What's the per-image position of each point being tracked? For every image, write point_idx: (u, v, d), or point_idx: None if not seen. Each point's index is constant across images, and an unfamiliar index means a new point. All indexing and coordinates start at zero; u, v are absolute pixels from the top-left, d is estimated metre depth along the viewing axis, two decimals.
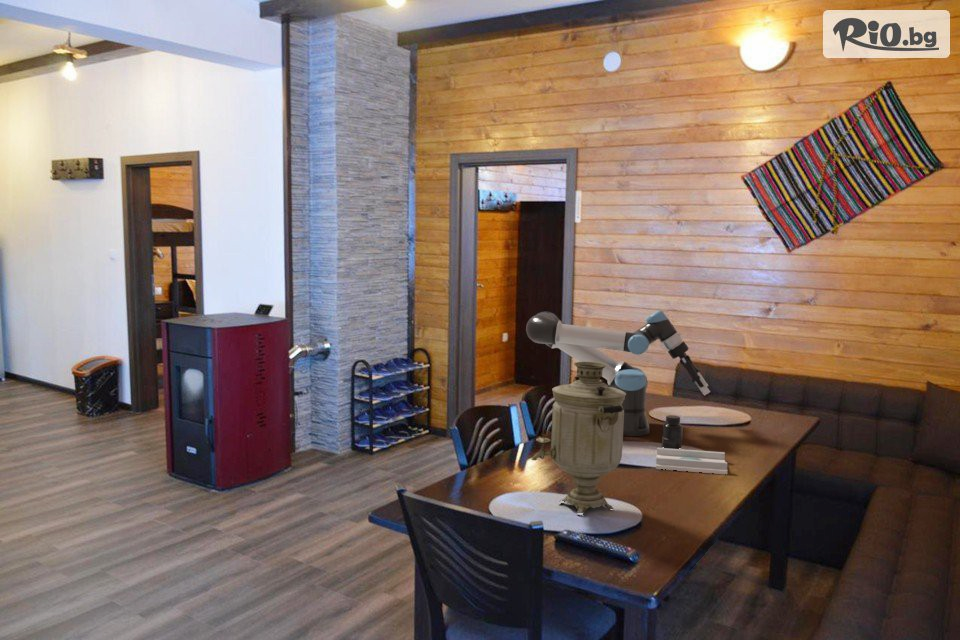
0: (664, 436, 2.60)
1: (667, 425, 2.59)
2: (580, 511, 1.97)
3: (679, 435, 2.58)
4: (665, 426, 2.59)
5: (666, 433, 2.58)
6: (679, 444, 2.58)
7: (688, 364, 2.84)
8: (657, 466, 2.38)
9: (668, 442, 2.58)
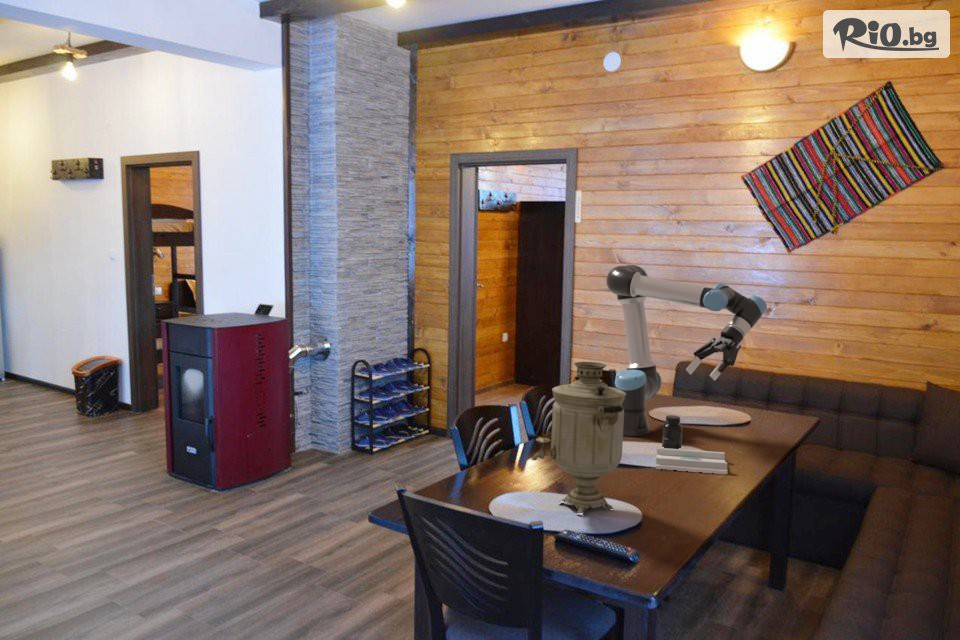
0: (664, 436, 2.60)
1: (667, 425, 2.59)
2: (580, 511, 1.97)
3: (679, 435, 2.58)
4: (665, 426, 2.59)
5: (666, 433, 2.58)
6: (679, 444, 2.58)
7: (736, 351, 2.61)
8: (657, 466, 2.38)
9: (668, 442, 2.58)
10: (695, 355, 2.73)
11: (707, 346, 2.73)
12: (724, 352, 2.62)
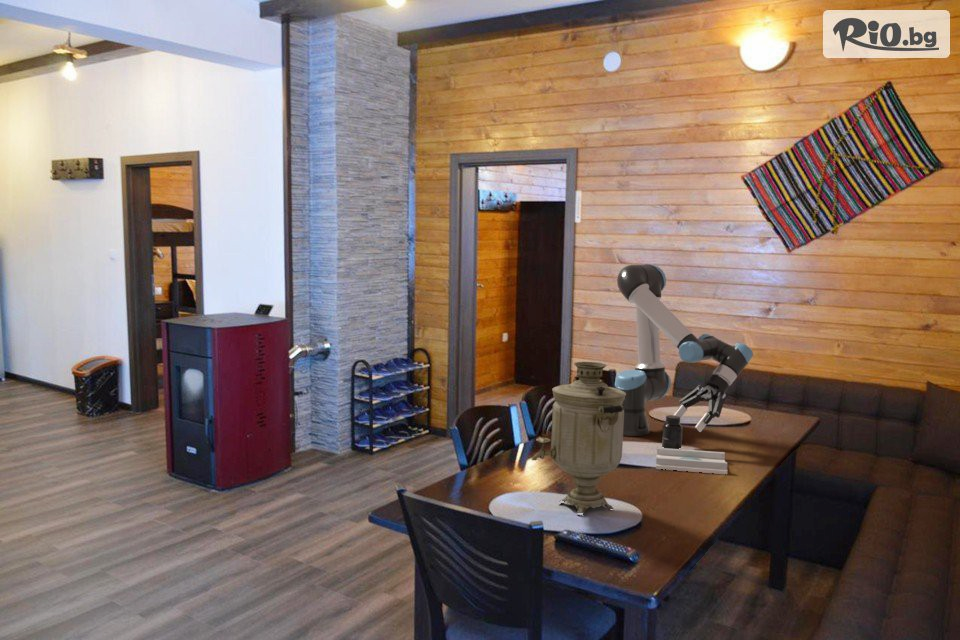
0: (664, 436, 2.60)
1: (667, 425, 2.59)
2: (580, 511, 1.97)
3: (679, 435, 2.58)
4: (665, 426, 2.59)
5: (666, 433, 2.58)
6: (679, 444, 2.58)
7: (722, 401, 2.56)
8: (657, 466, 2.38)
9: (668, 442, 2.58)
10: (680, 403, 2.69)
11: (693, 394, 2.69)
12: (710, 402, 2.58)
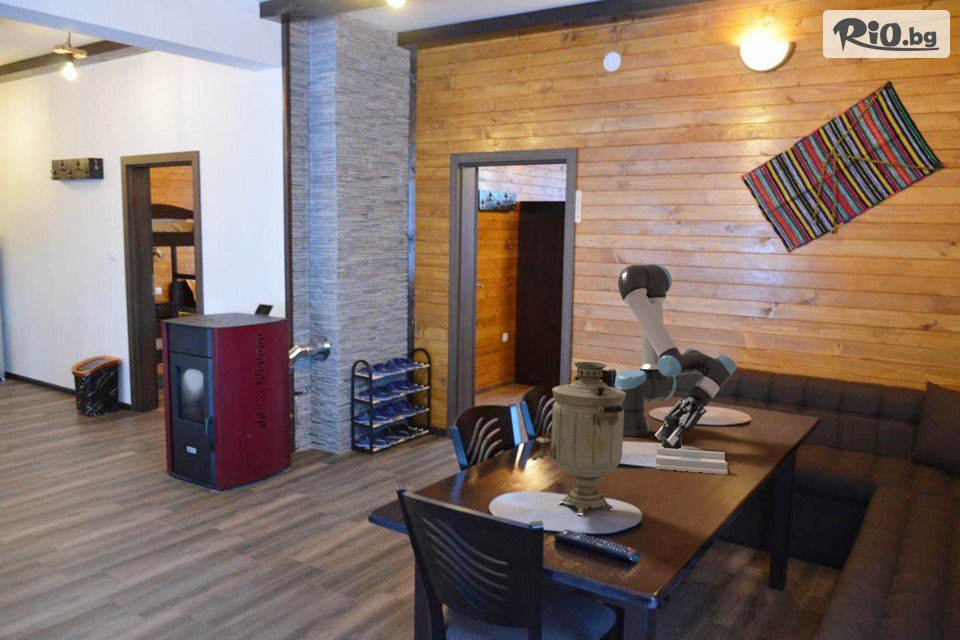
0: (664, 436, 2.60)
1: (667, 425, 2.59)
2: (580, 511, 1.97)
3: None
4: (665, 426, 2.59)
5: (666, 433, 2.58)
6: (679, 444, 2.58)
7: (699, 416, 2.56)
8: (657, 466, 2.38)
9: None
10: (665, 420, 2.65)
11: (676, 408, 2.67)
12: (687, 415, 2.59)
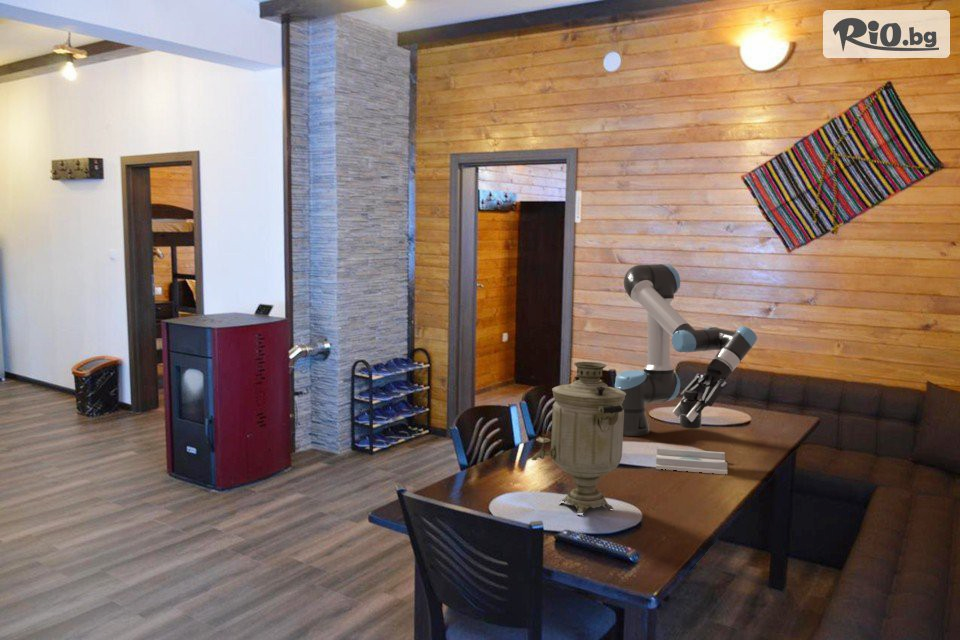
0: (682, 412, 2.44)
1: (685, 400, 2.44)
2: (580, 511, 1.97)
3: None
4: (684, 402, 2.44)
5: (685, 408, 2.43)
6: (698, 420, 2.43)
7: (720, 390, 2.41)
8: (657, 466, 2.38)
9: (687, 418, 2.43)
10: (682, 396, 2.50)
11: (694, 383, 2.52)
12: (706, 389, 2.43)
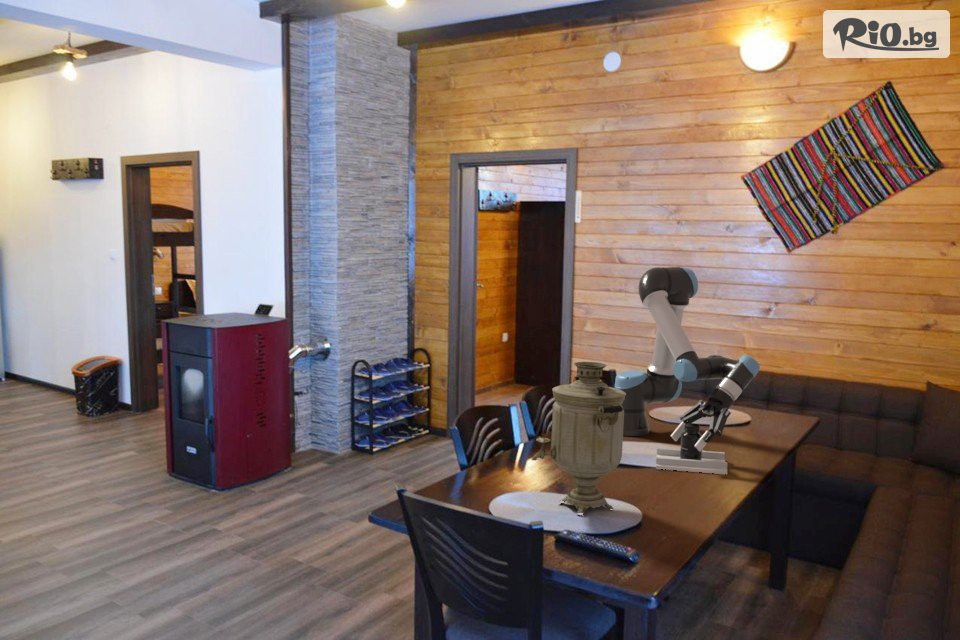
0: (683, 446, 2.42)
1: (686, 434, 2.41)
2: (580, 511, 1.97)
3: None
4: (684, 436, 2.41)
5: (685, 442, 2.41)
6: (699, 455, 2.40)
7: (725, 418, 2.38)
8: (657, 466, 2.38)
9: (687, 452, 2.41)
10: (681, 420, 2.50)
11: (694, 410, 2.50)
12: (711, 419, 2.39)
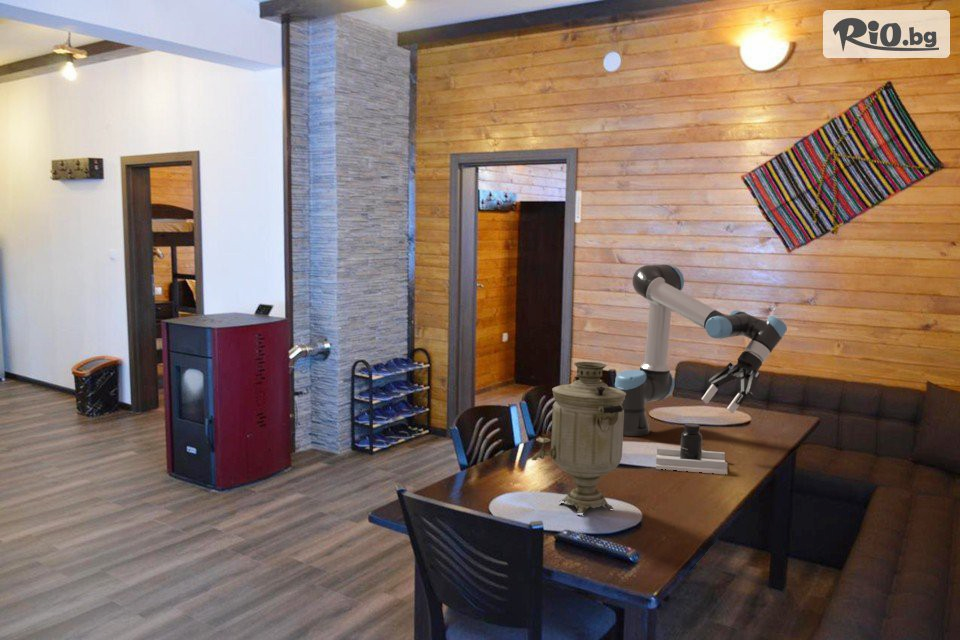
0: (683, 446, 2.42)
1: (686, 434, 2.41)
2: (580, 511, 1.97)
3: (698, 444, 2.40)
4: (684, 436, 2.41)
5: (685, 442, 2.41)
6: (699, 455, 2.40)
7: (755, 380, 2.43)
8: (657, 466, 2.38)
9: (687, 452, 2.40)
10: (711, 382, 2.56)
11: (723, 372, 2.55)
12: (742, 382, 2.45)
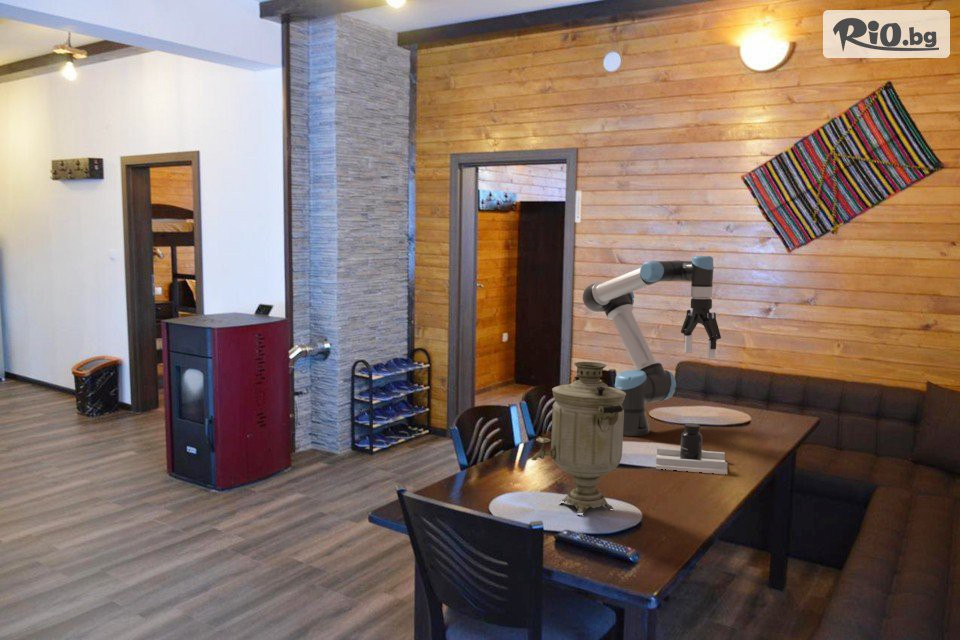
0: (683, 446, 2.42)
1: (686, 434, 2.41)
2: (580, 511, 1.97)
3: (698, 444, 2.40)
4: (684, 436, 2.41)
5: (685, 442, 2.41)
6: (699, 455, 2.41)
7: (715, 321, 2.64)
8: (657, 466, 2.38)
9: (687, 452, 2.40)
10: None
11: (688, 320, 2.77)
12: (705, 328, 2.66)
